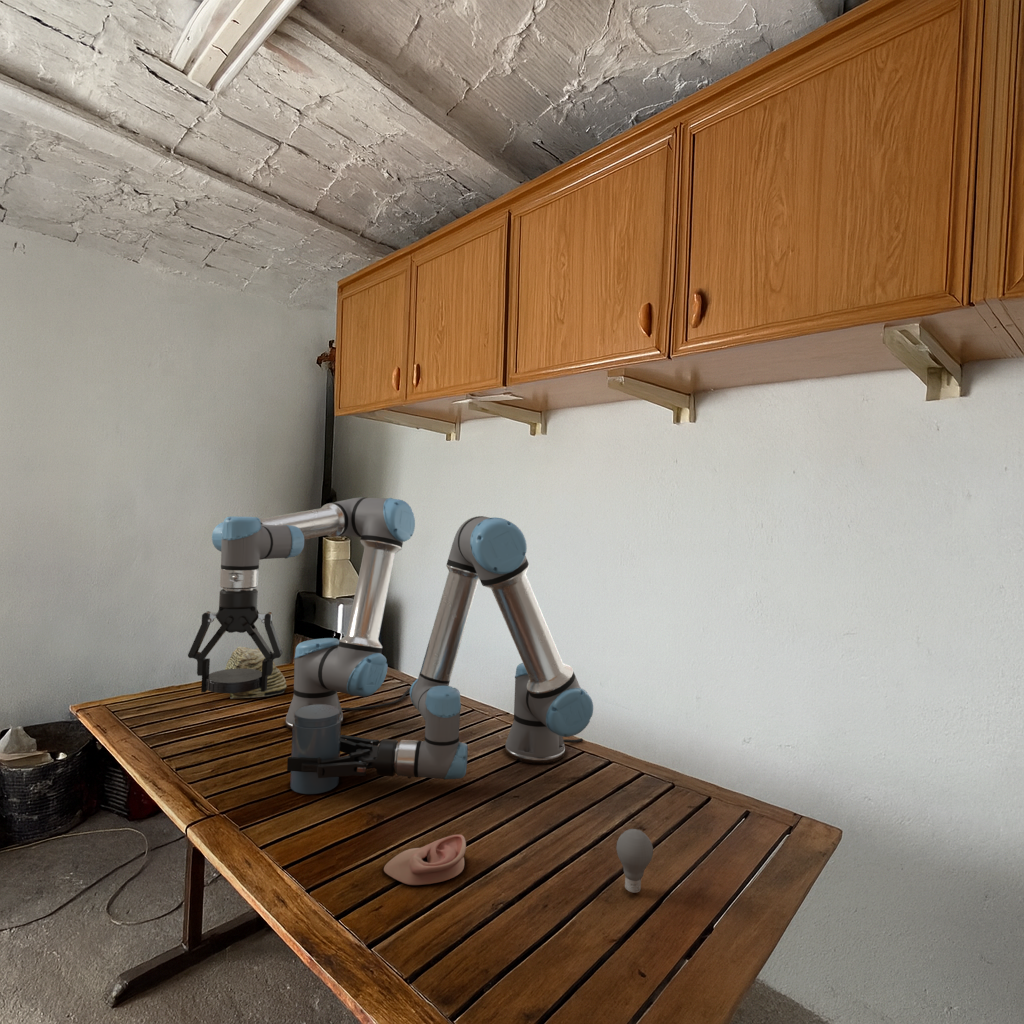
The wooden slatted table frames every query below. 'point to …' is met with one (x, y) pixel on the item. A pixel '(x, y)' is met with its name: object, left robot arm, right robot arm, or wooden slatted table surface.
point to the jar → (315, 745)
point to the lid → (234, 680)
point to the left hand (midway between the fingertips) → (234, 690)
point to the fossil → (253, 660)
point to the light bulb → (634, 857)
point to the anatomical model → (429, 862)
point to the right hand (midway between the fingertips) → (296, 753)
